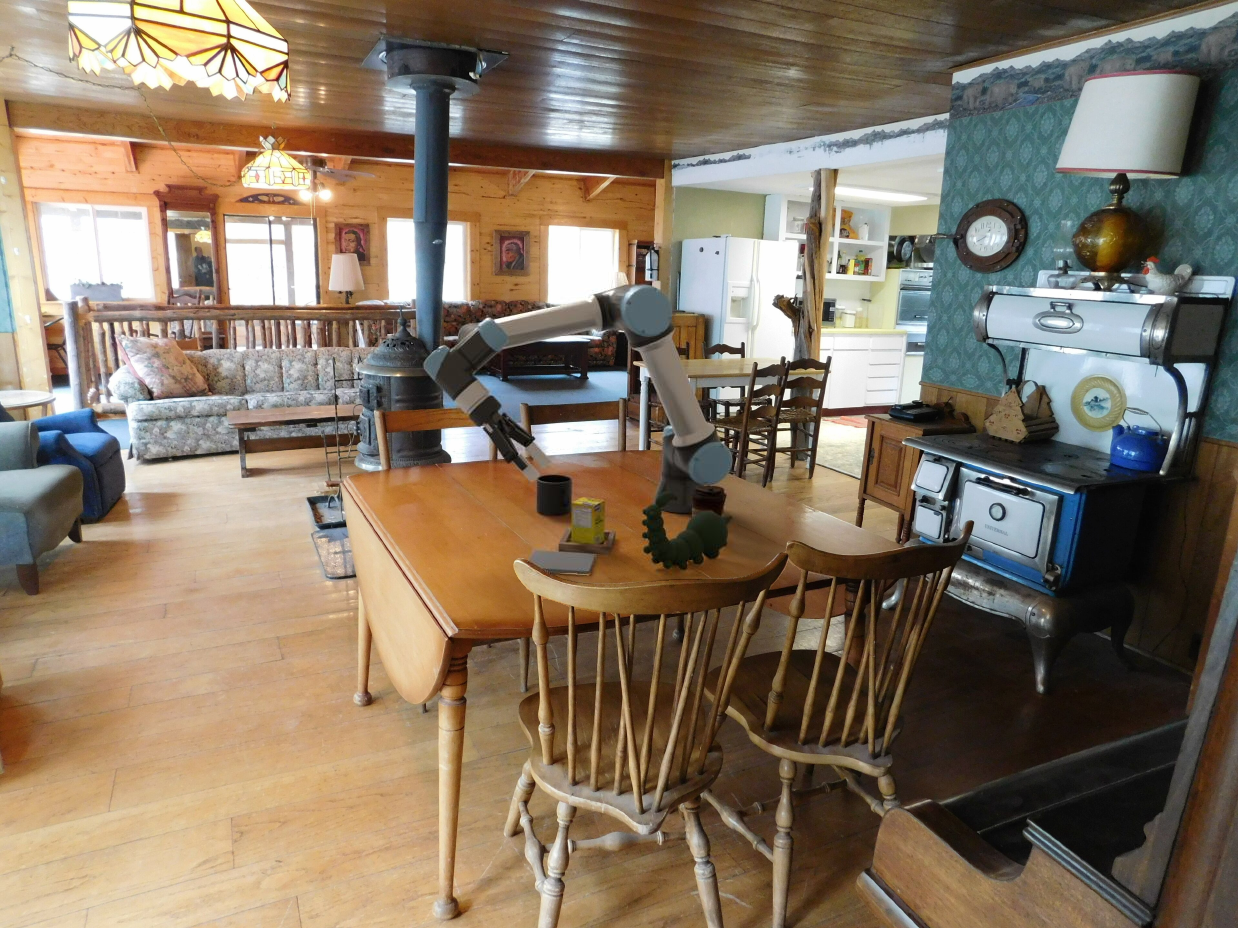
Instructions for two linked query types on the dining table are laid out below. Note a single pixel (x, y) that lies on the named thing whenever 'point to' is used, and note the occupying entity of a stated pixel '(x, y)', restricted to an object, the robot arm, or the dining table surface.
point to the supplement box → (588, 521)
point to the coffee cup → (708, 500)
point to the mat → (563, 561)
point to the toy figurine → (683, 536)
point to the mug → (554, 495)
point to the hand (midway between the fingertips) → (542, 471)
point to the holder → (587, 548)
